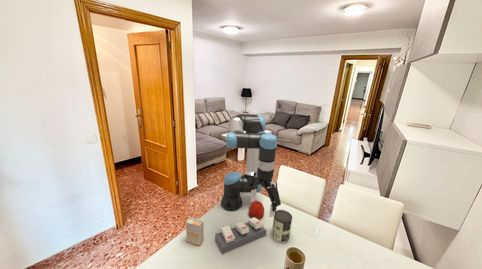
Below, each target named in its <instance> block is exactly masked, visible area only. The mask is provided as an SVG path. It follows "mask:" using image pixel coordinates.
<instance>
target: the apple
mask: <svg viewBox="0 0 482 269" xmlns="http://www.w3.org/2000/svg"><path fill="white" fill-rule="evenodd" d="M248 207H249V208H248V214H249V216H250V218H254V217H255V218H256V219H258V220H260V219H262V218H263V217H264V214H265V207H264V205H263V203H262V201H259V200H255V201H253V202H251V203H250V205H249V206H248Z"/></svg>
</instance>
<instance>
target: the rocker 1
mask: <svg viewBox="0 0 482 269" xmlns="http://www.w3.org/2000/svg"><path fill="white" fill-rule="evenodd" d="M230 228H231V227H230V225H229V224H228V225H225V226H221V228H220V232H222V234H223V236H224V239H225V241H226V243H229V242H232V241H234V239H235V237H234V235H233V233H232V231H231V229H230Z"/></svg>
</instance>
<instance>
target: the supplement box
mask: <svg viewBox="0 0 482 269" xmlns="http://www.w3.org/2000/svg"><path fill="white" fill-rule="evenodd" d="M204 227H205V226H204V219H200V218H196V217H191V216H190V217H189V218H188V219H187V221H186V222H185V231H186V243H187V244H192V245H195V246H199V247H200V246H201V245H202V243H203V242H204V239H205V236H204V234H205V233H204V231H205V230H204Z"/></svg>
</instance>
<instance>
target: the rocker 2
mask: <svg viewBox="0 0 482 269" xmlns="http://www.w3.org/2000/svg"><path fill="white" fill-rule="evenodd" d="M234 227H235V228H236V229H237V230H238V231H239V232H240V233H241V234H245V233H248V232H249V228H248V227H247V226H246V225H245V224H244V222H242V221H240V222H237V223H234Z"/></svg>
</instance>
